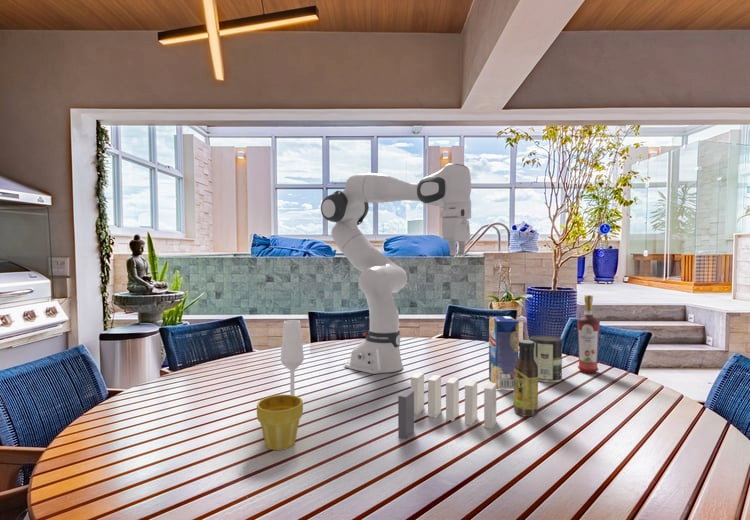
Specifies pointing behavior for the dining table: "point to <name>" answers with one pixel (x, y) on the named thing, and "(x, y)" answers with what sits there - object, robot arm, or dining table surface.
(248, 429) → the dining table surface
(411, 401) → the domino
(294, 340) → the champagne flute
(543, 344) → the coffee can
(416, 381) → the domino
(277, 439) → the plant pot
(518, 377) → the sauce bottle
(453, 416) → the domino
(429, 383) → the domino
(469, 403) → the domino
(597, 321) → the liquor
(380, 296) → the robot arm
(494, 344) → the beverage box
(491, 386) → the domino
